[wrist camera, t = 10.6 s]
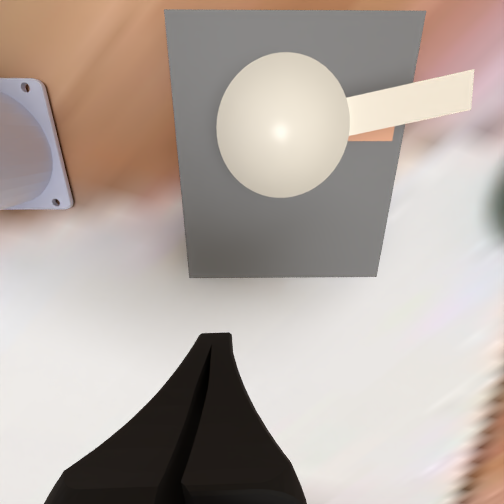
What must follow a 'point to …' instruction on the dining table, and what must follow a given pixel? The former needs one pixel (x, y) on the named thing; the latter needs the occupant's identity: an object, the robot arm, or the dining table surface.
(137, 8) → the dining table surface
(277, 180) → the cream ball joystick
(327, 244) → the post board
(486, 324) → the dining table surface
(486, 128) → the dining table surface
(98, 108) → the dining table surface
